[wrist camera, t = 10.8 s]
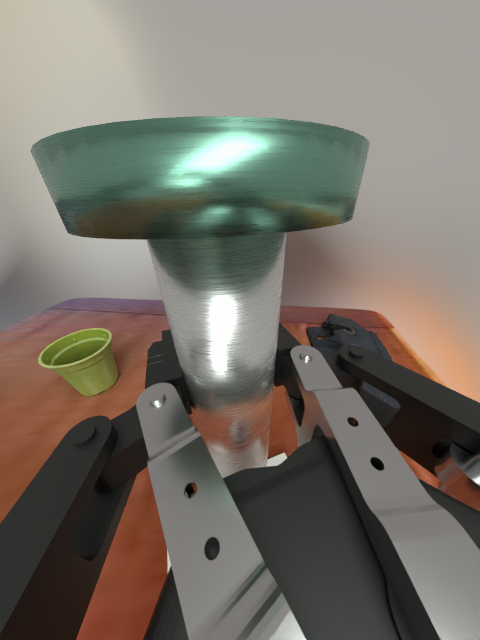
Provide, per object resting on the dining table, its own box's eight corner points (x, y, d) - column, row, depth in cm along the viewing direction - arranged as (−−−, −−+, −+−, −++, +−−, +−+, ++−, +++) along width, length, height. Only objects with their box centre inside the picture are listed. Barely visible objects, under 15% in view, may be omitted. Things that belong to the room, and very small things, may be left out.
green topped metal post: (196, 569, 10) (-193, 82, 1) (183, 438, 16) (94, 179, 7) (309, 509, 12) (474, 134, 3) (262, 411, 18) (272, 177, 9)
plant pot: (106, 408, 31) (80, 369, 26) (52, 403, 32) (19, 364, 27) (138, 365, 39) (123, 329, 34) (95, 362, 40) (74, 326, 35)
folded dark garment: (317, 403, 31) (322, 383, 29) (305, 326, 49) (308, 310, 47) (428, 420, 28) (446, 399, 26) (372, 332, 47) (379, 314, 44)
